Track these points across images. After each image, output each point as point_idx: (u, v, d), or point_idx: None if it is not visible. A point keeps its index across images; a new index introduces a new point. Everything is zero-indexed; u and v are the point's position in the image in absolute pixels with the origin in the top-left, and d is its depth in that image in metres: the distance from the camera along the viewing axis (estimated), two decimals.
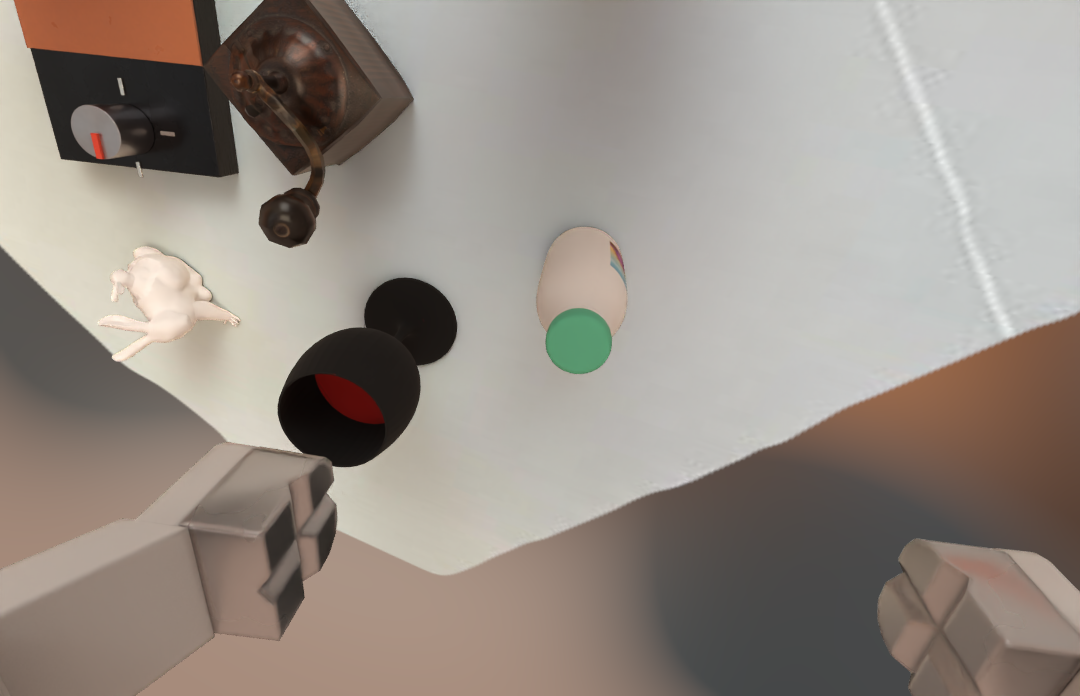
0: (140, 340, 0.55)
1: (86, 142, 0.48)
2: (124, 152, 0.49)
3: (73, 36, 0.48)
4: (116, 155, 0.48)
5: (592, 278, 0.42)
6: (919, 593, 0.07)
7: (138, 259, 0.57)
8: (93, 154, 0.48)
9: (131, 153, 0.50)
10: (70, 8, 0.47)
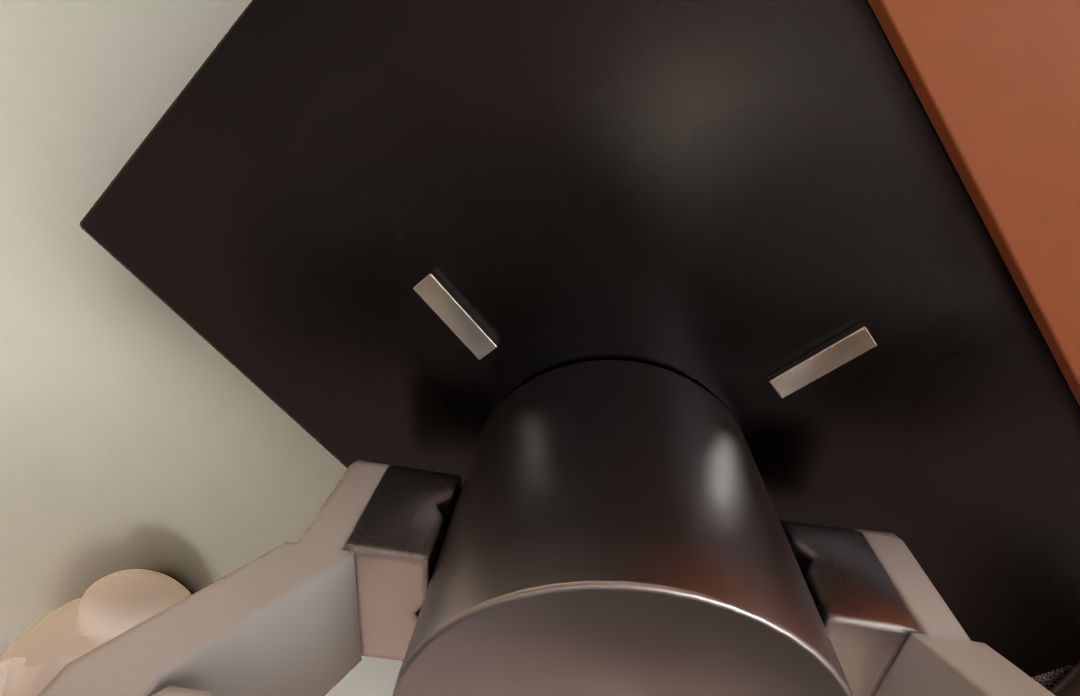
0: None
1: None
2: None
3: None
4: None
5: None
6: None
7: None
8: None
9: None
10: None
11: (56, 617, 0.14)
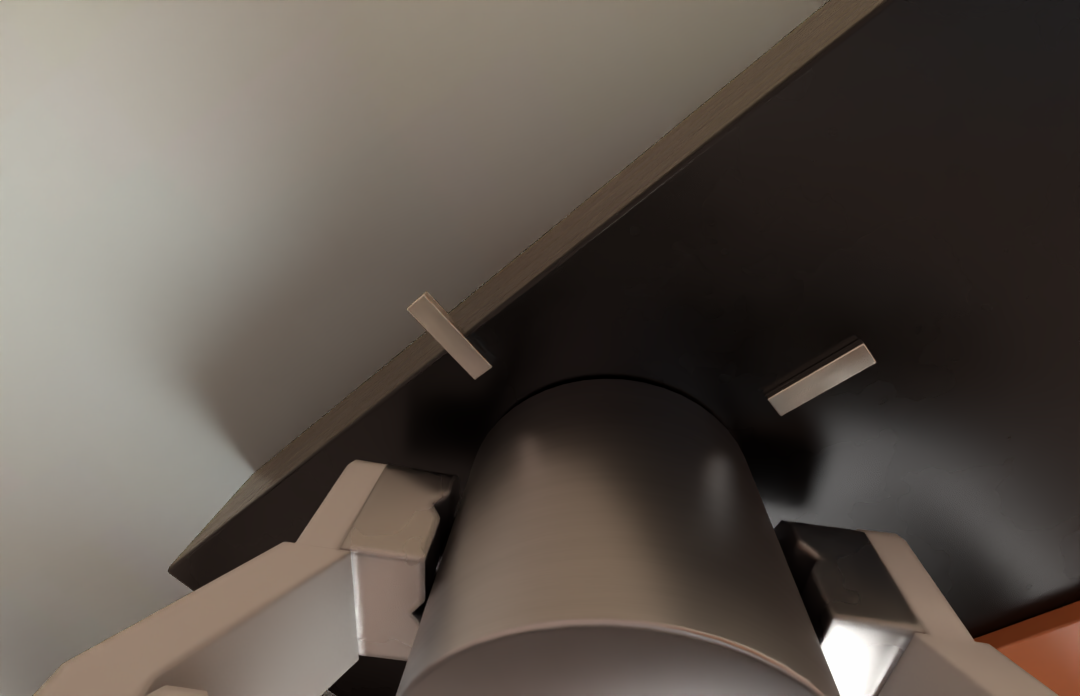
0: None
1: None
2: None
3: None
4: None
5: None
6: None
7: None
8: None
9: None
10: None
11: None
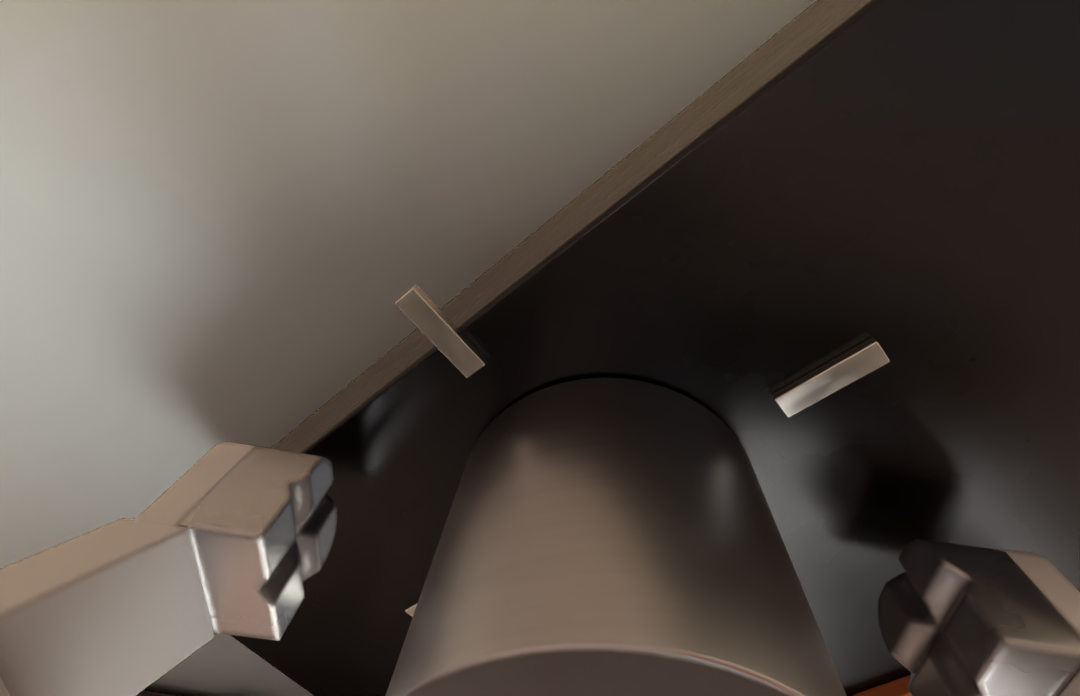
0: None
1: None
2: None
3: None
4: None
5: None
6: (919, 593, 0.07)
7: None
8: None
9: None
10: None
11: None
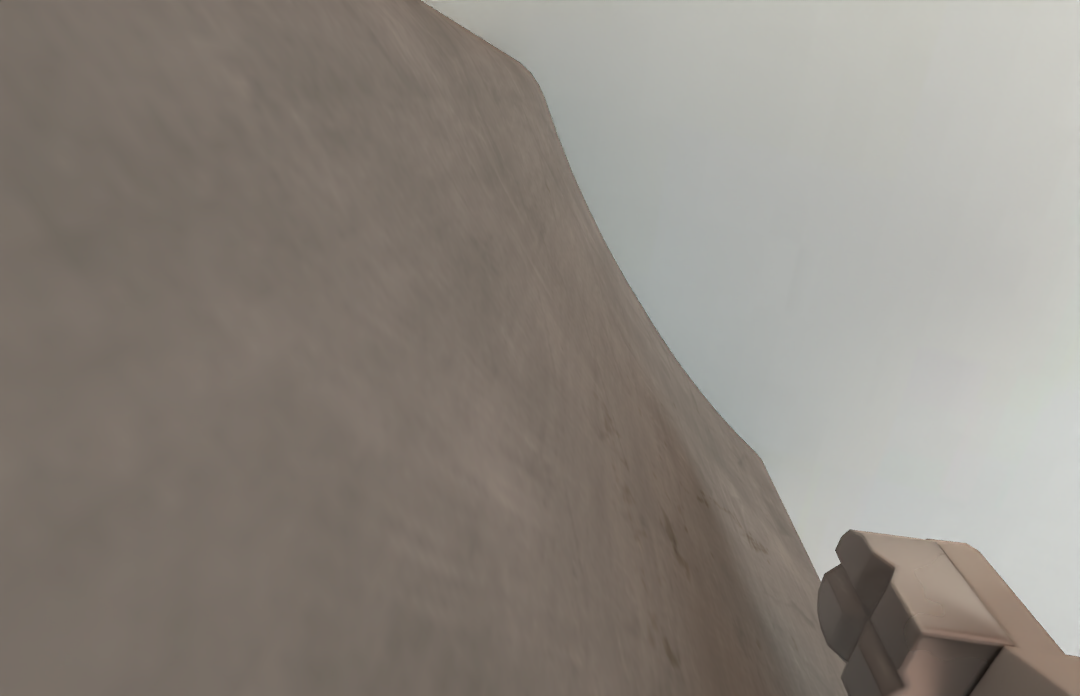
0: None
1: None
2: None
3: None
4: None
5: None
6: (852, 583, 0.07)
7: None
8: None
9: None
10: None
11: None
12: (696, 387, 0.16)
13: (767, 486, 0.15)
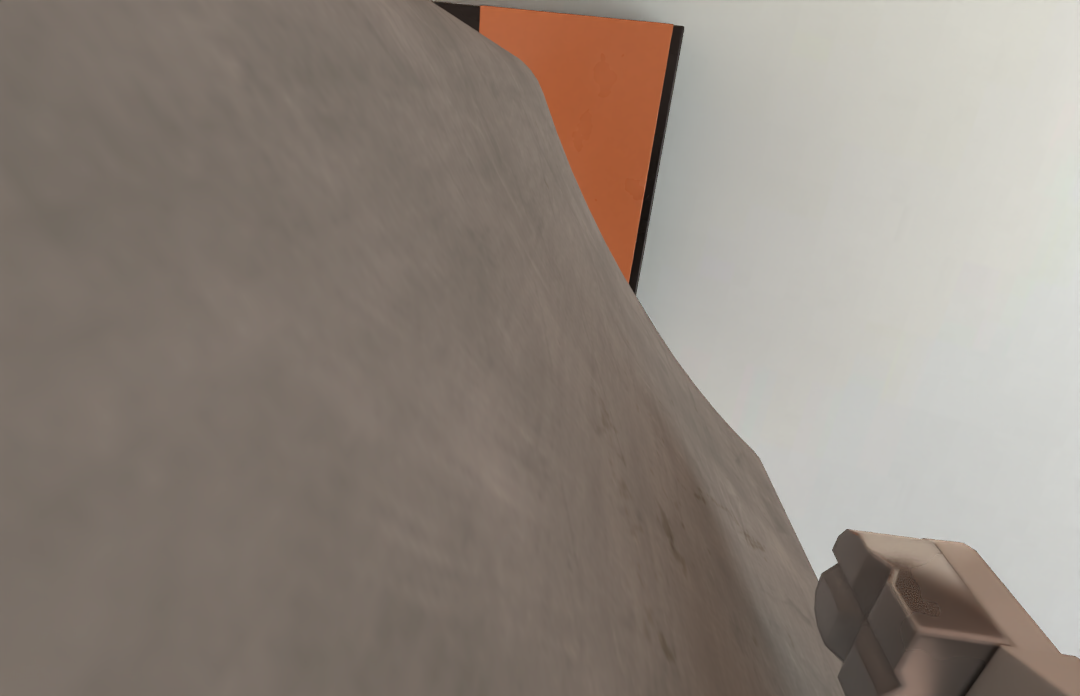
0: None
1: None
2: None
3: None
4: None
5: None
6: (849, 583, 0.07)
7: None
8: None
9: None
10: None
11: None
12: (694, 385, 0.16)
13: (765, 484, 0.15)
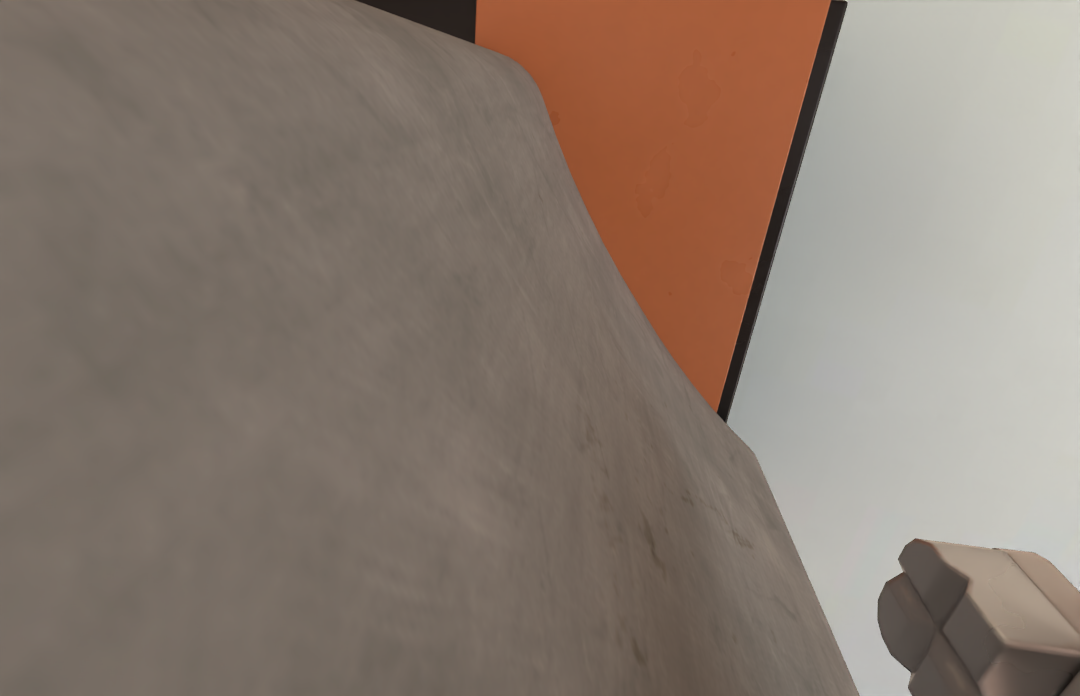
0: None
1: None
2: None
3: None
4: None
5: None
6: (919, 593, 0.07)
7: None
8: None
9: None
10: (594, 202, 0.15)
11: None
12: (691, 383, 0.16)
13: (758, 481, 0.15)
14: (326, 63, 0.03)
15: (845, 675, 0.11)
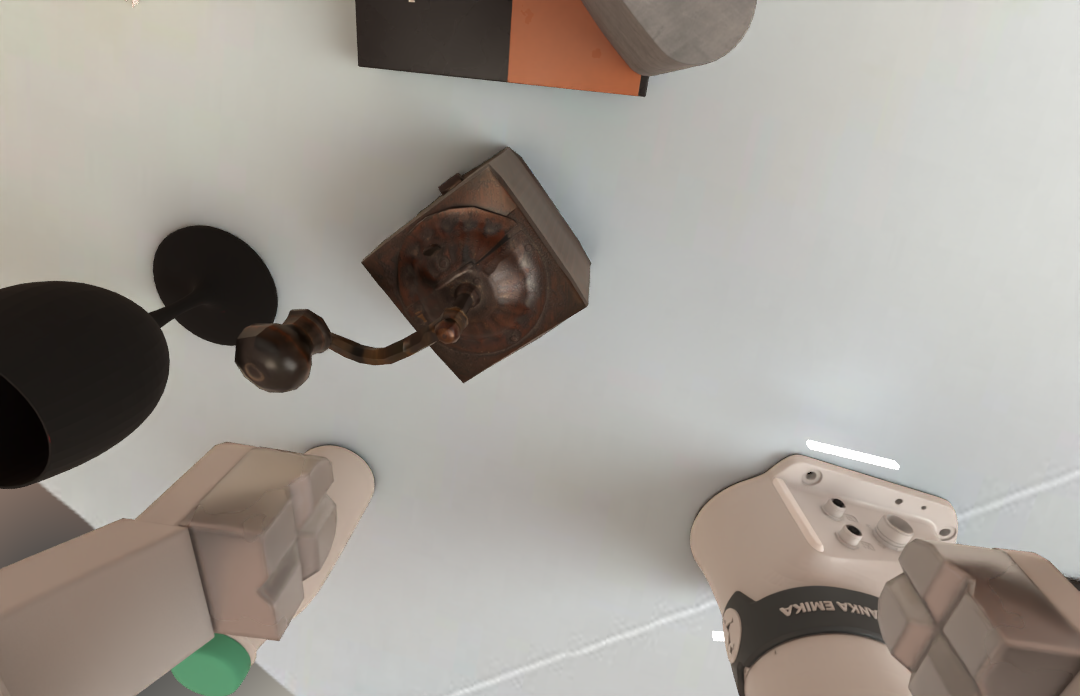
0: None
1: None
2: None
3: None
4: None
5: None
6: (919, 593, 0.07)
7: None
8: None
9: None
10: None
11: None
12: None
13: None
14: None
15: None
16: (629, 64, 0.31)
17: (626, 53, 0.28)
